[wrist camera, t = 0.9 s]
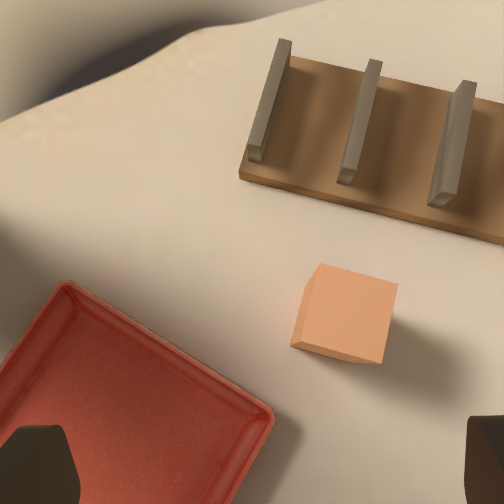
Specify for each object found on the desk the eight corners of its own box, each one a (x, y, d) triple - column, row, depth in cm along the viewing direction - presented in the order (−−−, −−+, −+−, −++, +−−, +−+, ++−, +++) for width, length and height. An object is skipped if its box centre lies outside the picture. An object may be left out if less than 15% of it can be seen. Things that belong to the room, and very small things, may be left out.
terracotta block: (290, 345, 33) (300, 340, 25) (304, 287, 34) (319, 263, 26) (349, 362, 33) (381, 363, 24) (362, 303, 34) (398, 283, 25)
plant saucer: (-71, 498, 32) (-108, 513, 29) (79, 281, 35) (61, 273, 32) (139, 656, 29) (125, 693, 26) (279, 408, 33) (281, 413, 30)
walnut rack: (239, 178, 36) (236, 153, 32) (274, 63, 39) (276, 25, 34) (527, 251, 35) (565, 235, 30) (545, 125, 37) (583, 94, 33)
